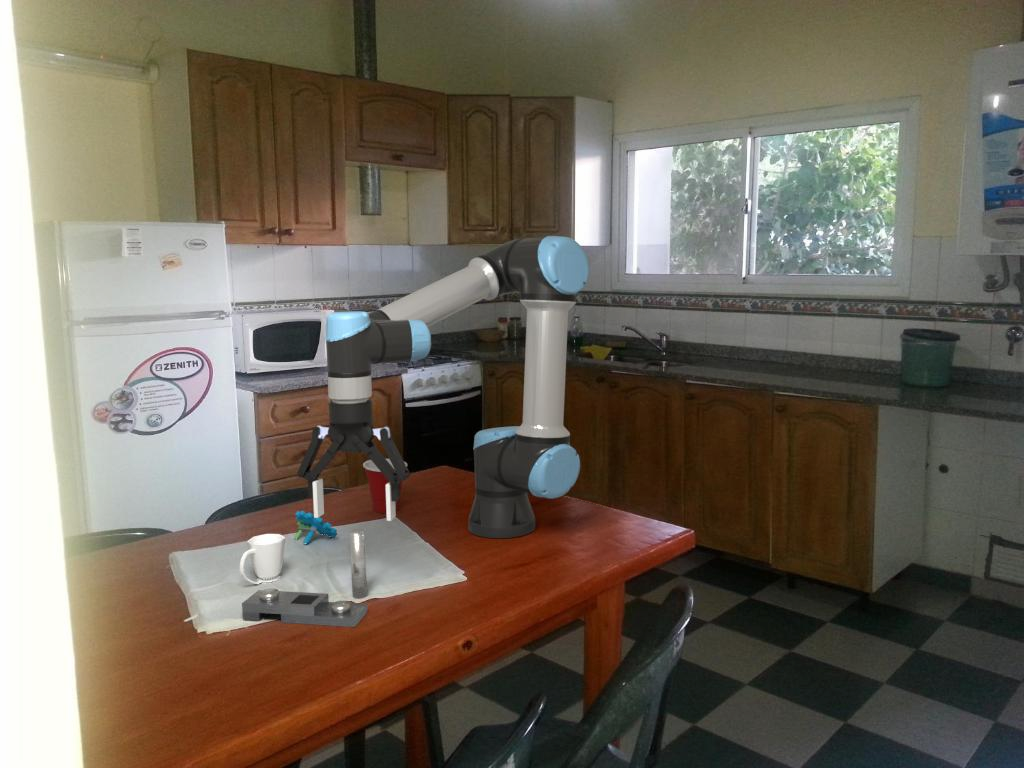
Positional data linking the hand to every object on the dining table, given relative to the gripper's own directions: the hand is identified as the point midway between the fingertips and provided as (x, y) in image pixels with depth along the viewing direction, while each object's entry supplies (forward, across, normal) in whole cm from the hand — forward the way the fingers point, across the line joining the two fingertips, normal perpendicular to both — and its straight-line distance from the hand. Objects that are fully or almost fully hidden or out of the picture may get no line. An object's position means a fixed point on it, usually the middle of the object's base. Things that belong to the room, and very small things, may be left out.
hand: (354, 517), depth 149 cm
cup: (+15, +21, -4) cm, 26 cm away
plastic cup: (+15, +13, -53) cm, 57 cm away
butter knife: (+16, +25, +15) cm, 33 cm away
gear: (+15, +21, -29) cm, 39 cm away
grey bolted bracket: (+15, +6, +10) cm, 19 cm away
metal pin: (+15, 0, 0) cm, 15 cm away
